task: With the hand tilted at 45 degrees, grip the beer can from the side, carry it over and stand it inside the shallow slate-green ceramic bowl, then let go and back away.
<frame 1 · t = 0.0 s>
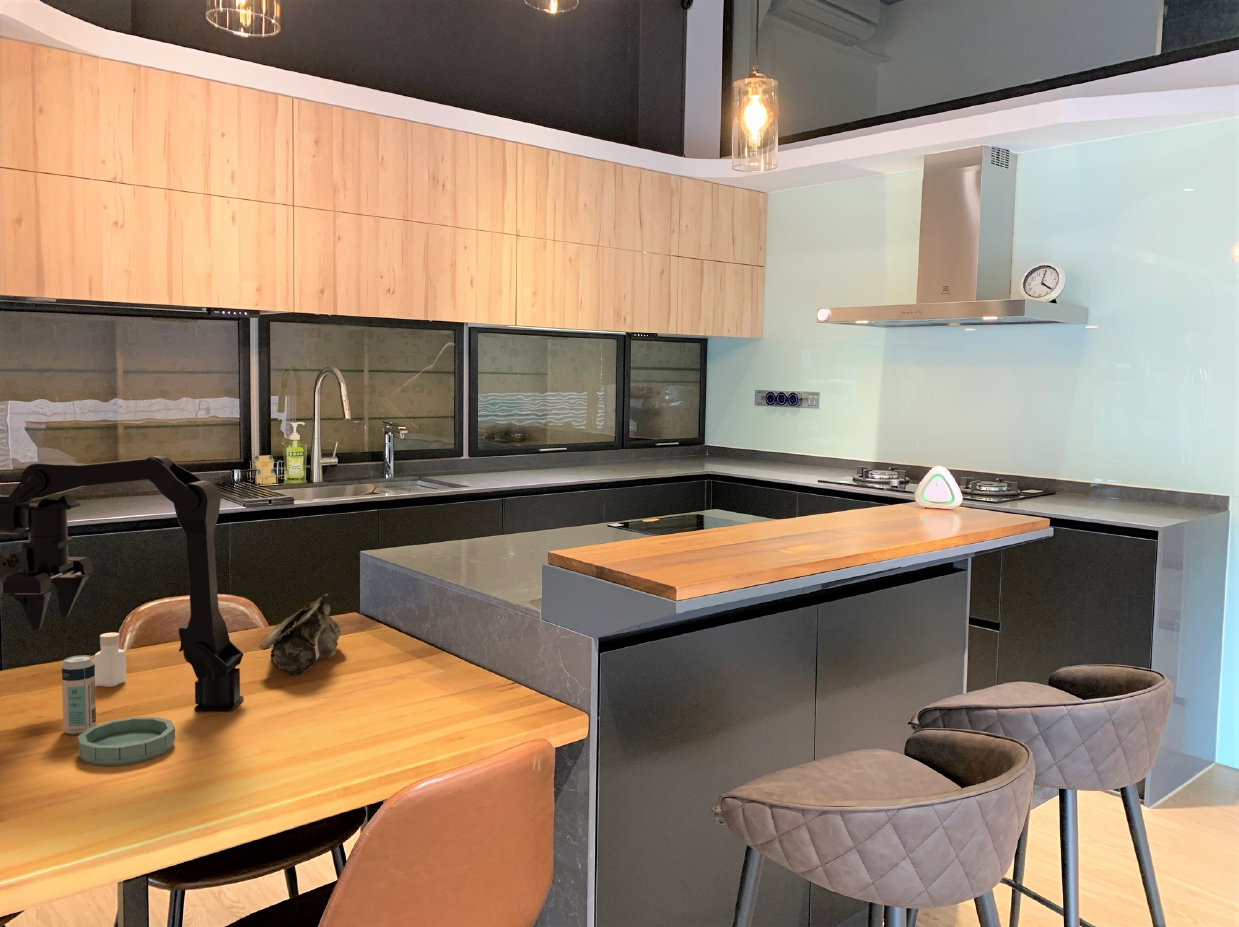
hand: (50, 623, 162), 15 cm above the table, tool pointing down, fingers open, 9 cm apart
pepper shaker: (110, 685, 176), on the table
driftwood piece: (299, 664, 192), on the table
bowl: (127, 749, 145), on the table
beer can: (79, 731, 152), on the table
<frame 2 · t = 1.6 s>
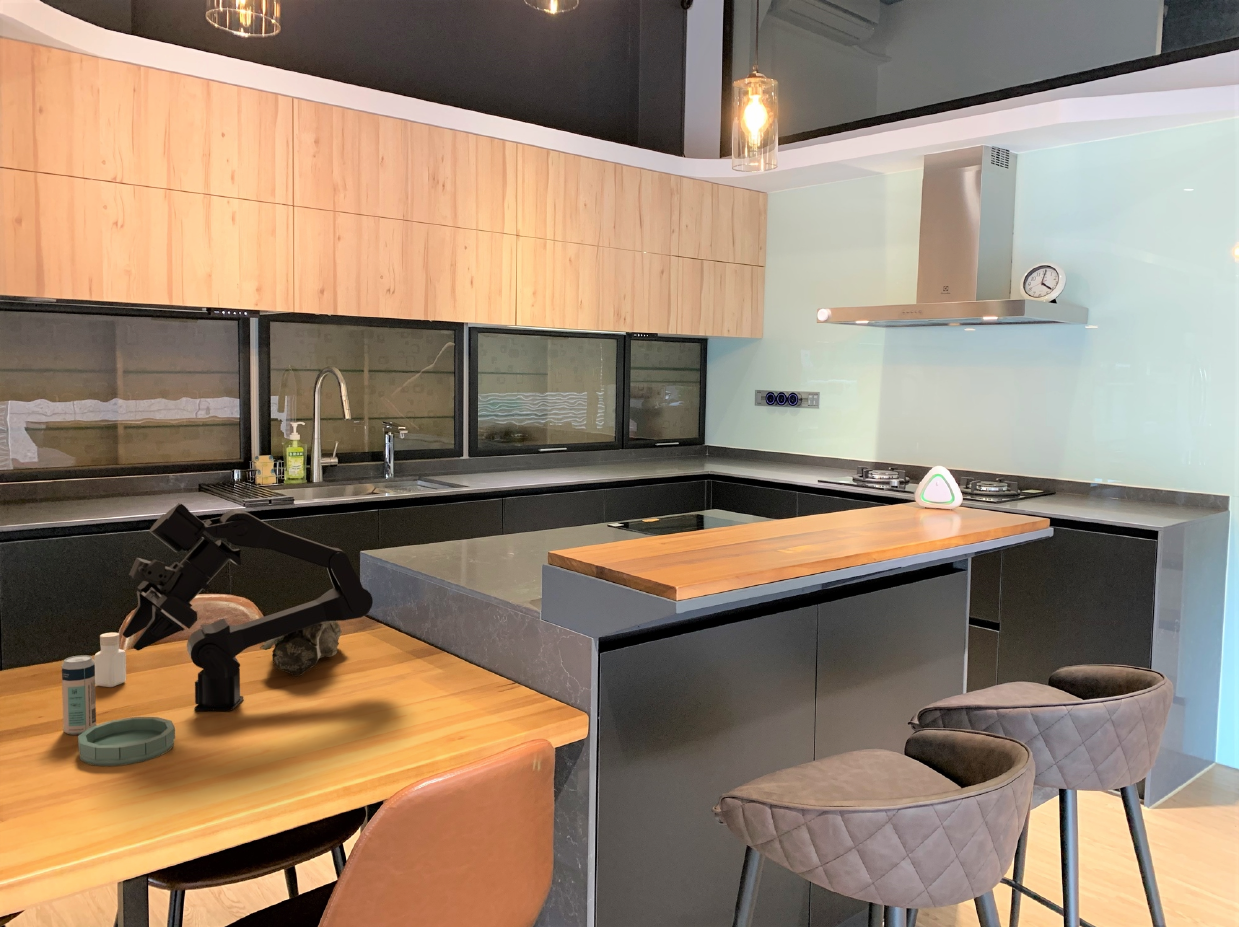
hand: (129, 642, 156), 13 cm above the table, tool tilted 45°, fingers open, 9 cm apart
nothing on the table moved.
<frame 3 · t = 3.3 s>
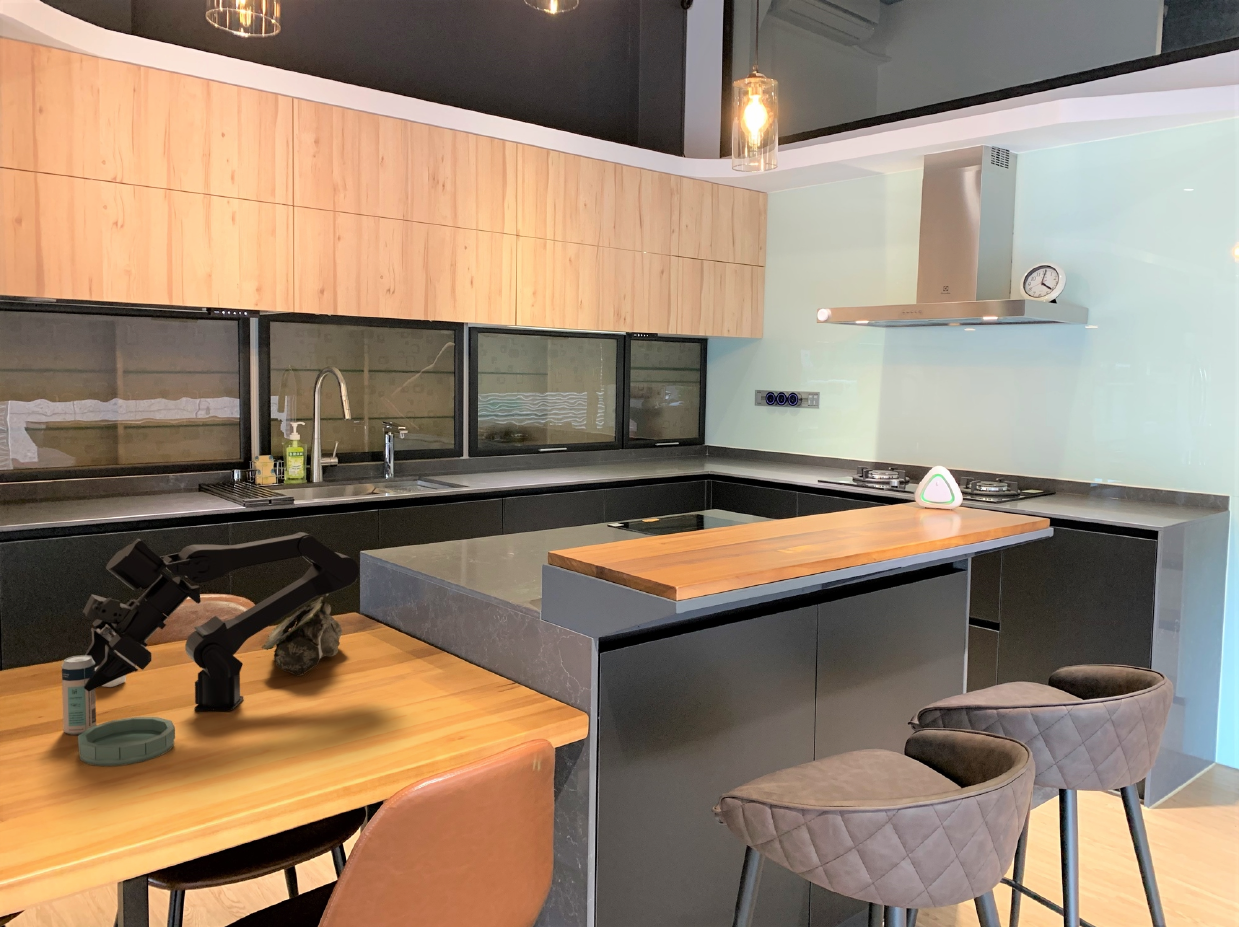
hand: (81, 682, 152), 8 cm above the table, tool tilted 45°, fingers open, 9 cm apart
nothing on the table moved.
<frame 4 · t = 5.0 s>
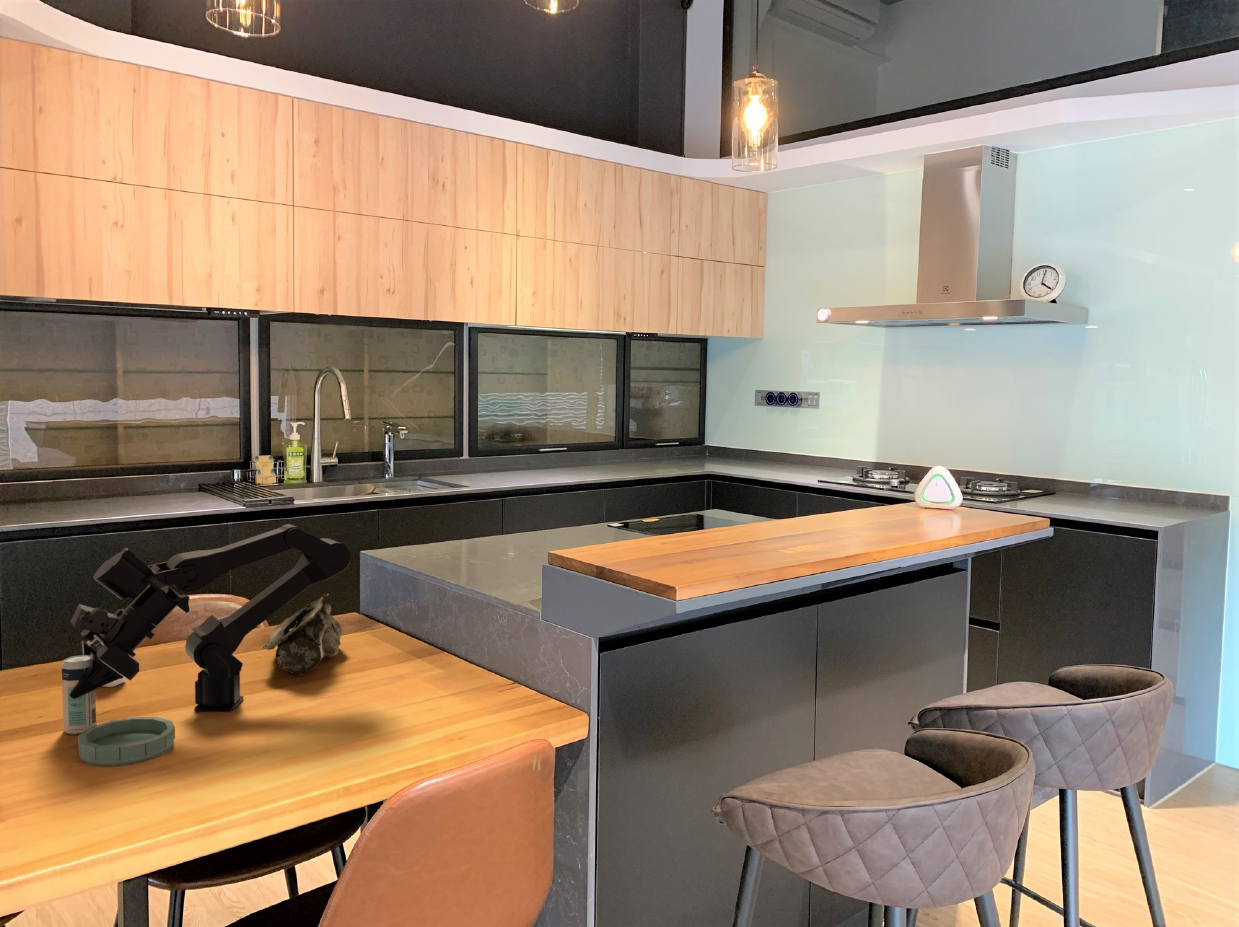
hand: (69, 692, 151), 7 cm above the table, tool tilted 45°, fingers closed on beer can, 5 cm apart
beer can: (79, 731, 152), on the table, touching gripper
everything else where it was.
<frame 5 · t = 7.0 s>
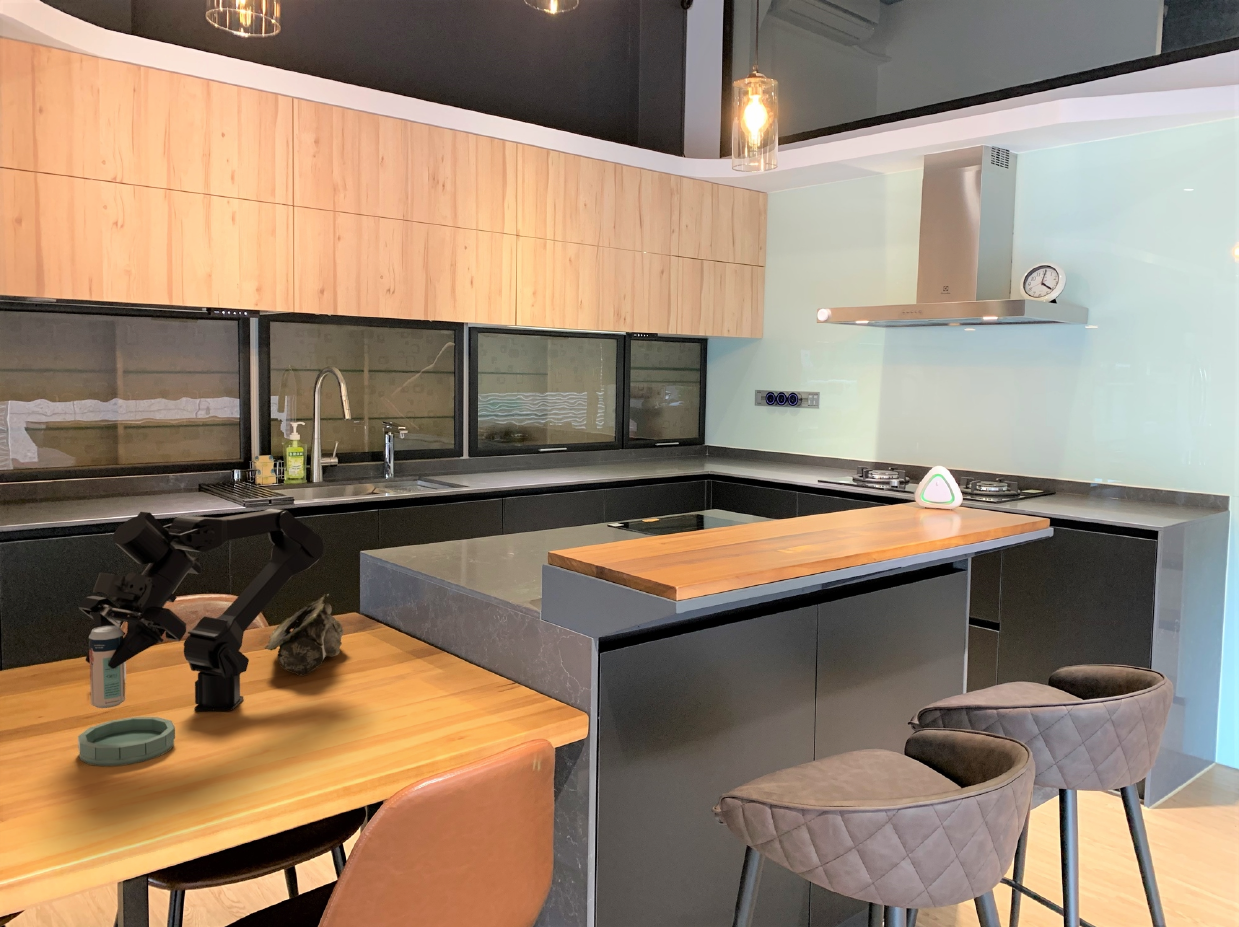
hand: (99, 664, 144), 13 cm above the table, tool tilted 45°, fingers closed on beer can, 5 cm apart
beer can: (108, 705, 146), point 6 cm above the table, touching gripper
everything else where it was.
when the fingers open (9 cm above the table, at t = 9.1 s): beer can drops 1 cm, resting on bowl.
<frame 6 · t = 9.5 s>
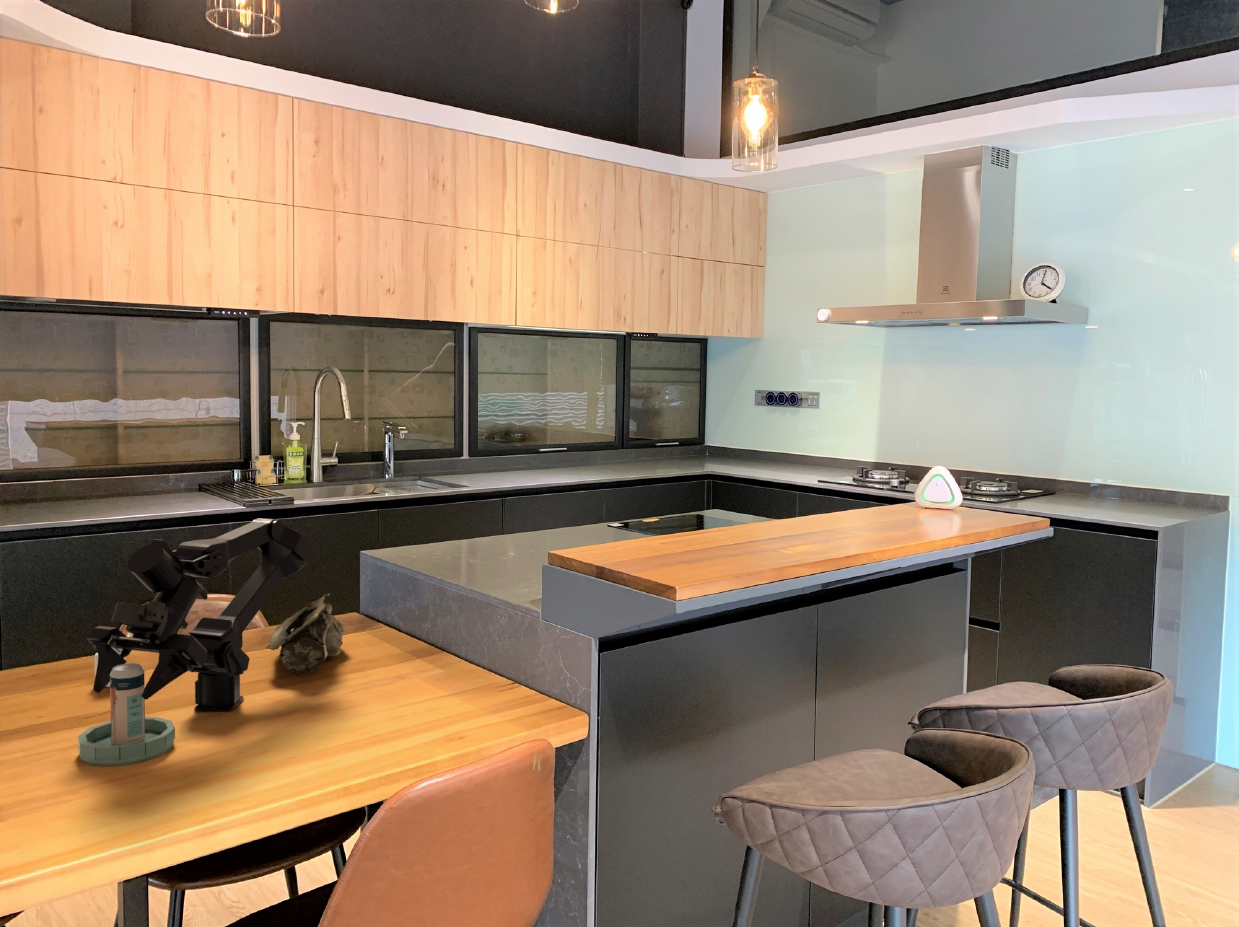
hand: (119, 695, 143), 9 cm above the table, tool tilted 45°, fingers open, 9 cm apart
beer can: (128, 743, 145), point 1 cm above the table, touching bowl
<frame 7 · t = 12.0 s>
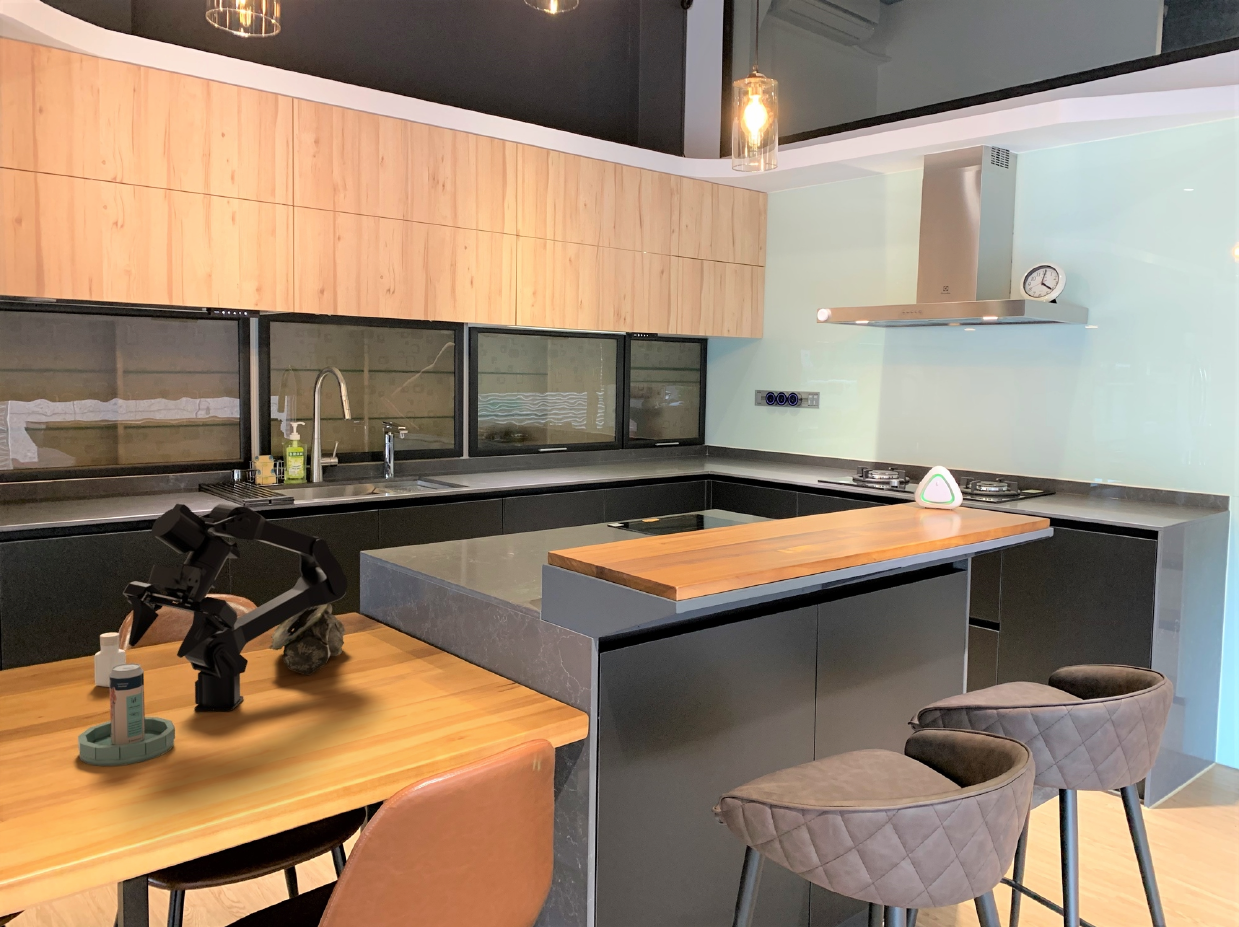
hand: (154, 651, 152), 13 cm above the table, tool tilted 40°, fingers open, 9 cm apart
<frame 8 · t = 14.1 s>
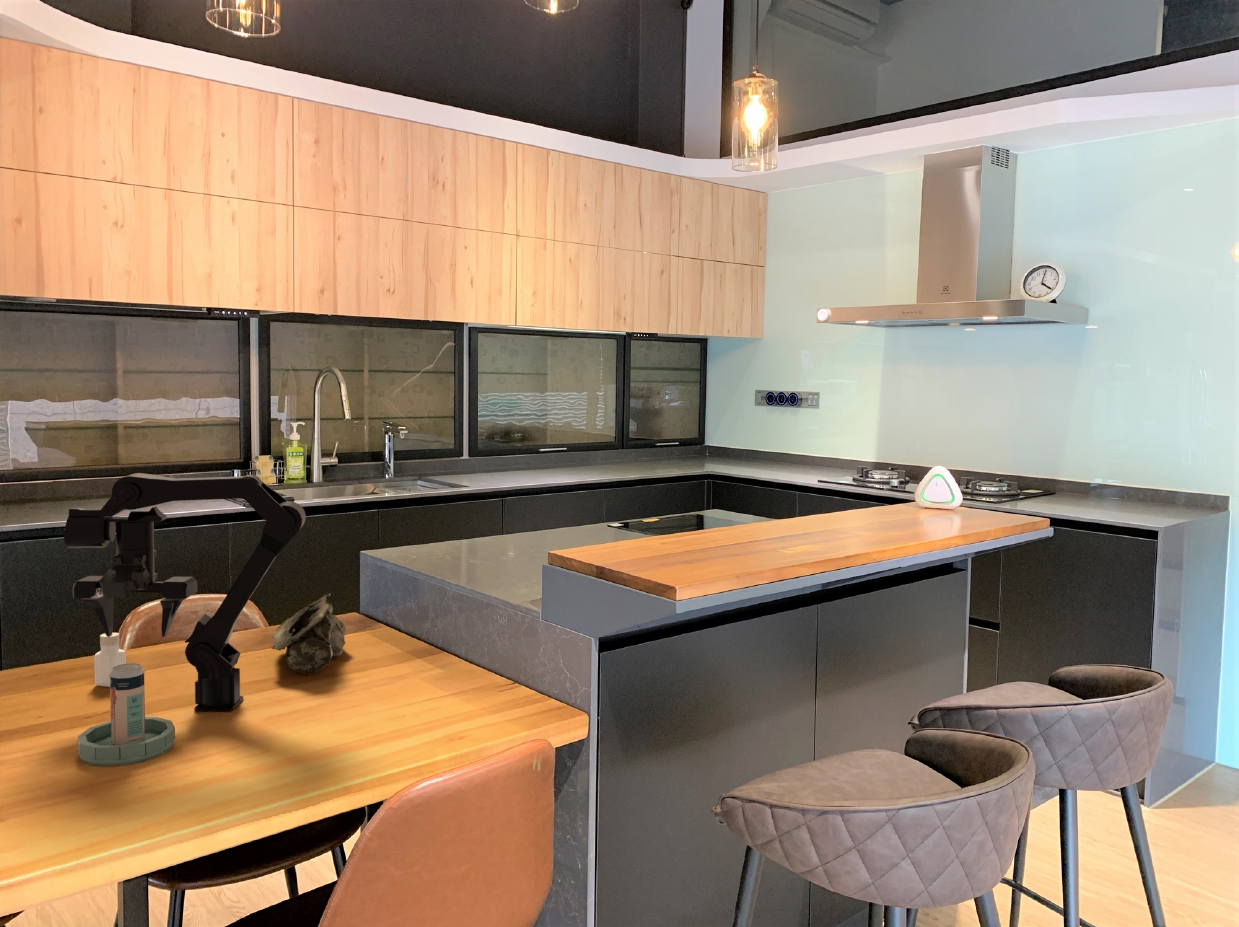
hand: (137, 636, 161), 13 cm above the table, tool pointing down, fingers open, 9 cm apart
at the end: beer can 0.2 cm off-centre on the bowl, point 0.8 cm above the bowl's base; beer can tilted 0°; the gripper is holding nothing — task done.
